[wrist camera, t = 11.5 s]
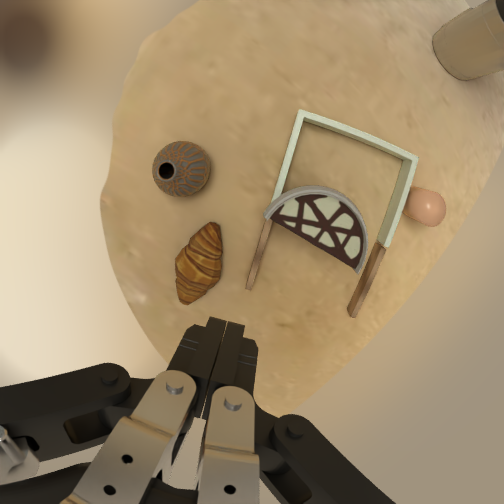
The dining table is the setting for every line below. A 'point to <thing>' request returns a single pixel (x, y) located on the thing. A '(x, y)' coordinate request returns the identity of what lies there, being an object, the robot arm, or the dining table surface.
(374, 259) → the brown flat strips
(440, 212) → the tan rounded piece
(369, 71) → the dining table surface
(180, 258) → the croissant
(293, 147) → the bay
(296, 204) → the food container
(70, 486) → the robot arm
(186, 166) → the vase
